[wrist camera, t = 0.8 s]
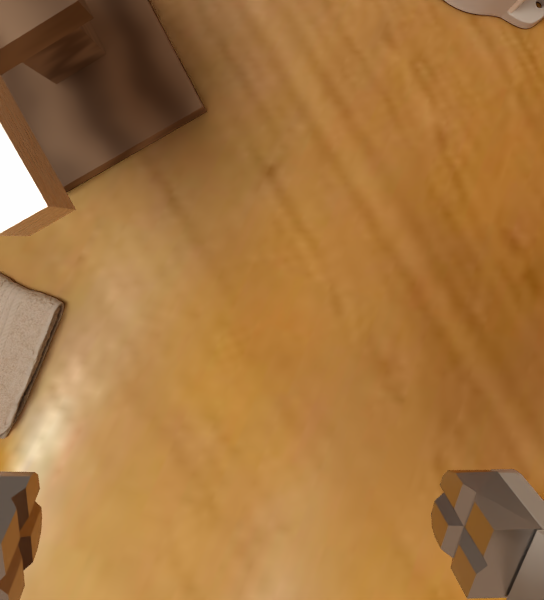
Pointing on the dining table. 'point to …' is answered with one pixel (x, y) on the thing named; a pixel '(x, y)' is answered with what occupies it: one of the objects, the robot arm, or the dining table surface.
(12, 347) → the washcloth
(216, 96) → the dining table surface
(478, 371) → the dining table surface
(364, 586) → the dining table surface
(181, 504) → the dining table surface
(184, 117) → the mount stand
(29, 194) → the grey square bar
